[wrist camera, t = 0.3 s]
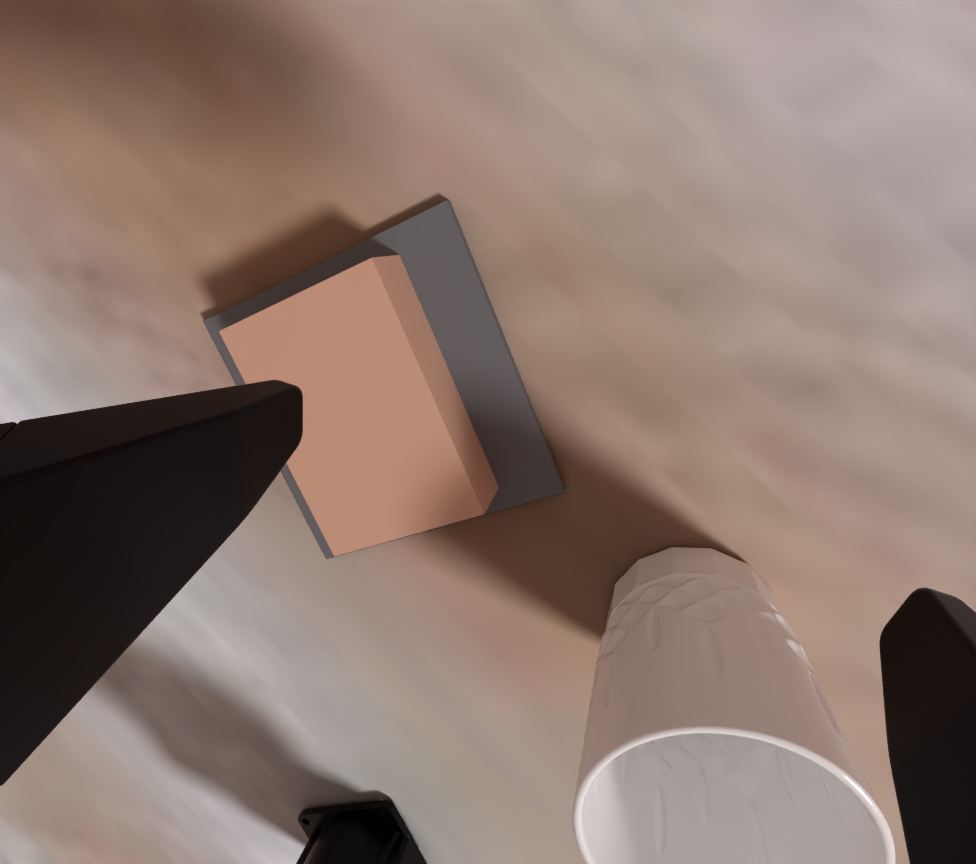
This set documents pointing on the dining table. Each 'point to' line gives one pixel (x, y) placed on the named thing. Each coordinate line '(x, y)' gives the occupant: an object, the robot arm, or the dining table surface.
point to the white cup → (715, 731)
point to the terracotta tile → (369, 407)
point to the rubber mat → (462, 341)
